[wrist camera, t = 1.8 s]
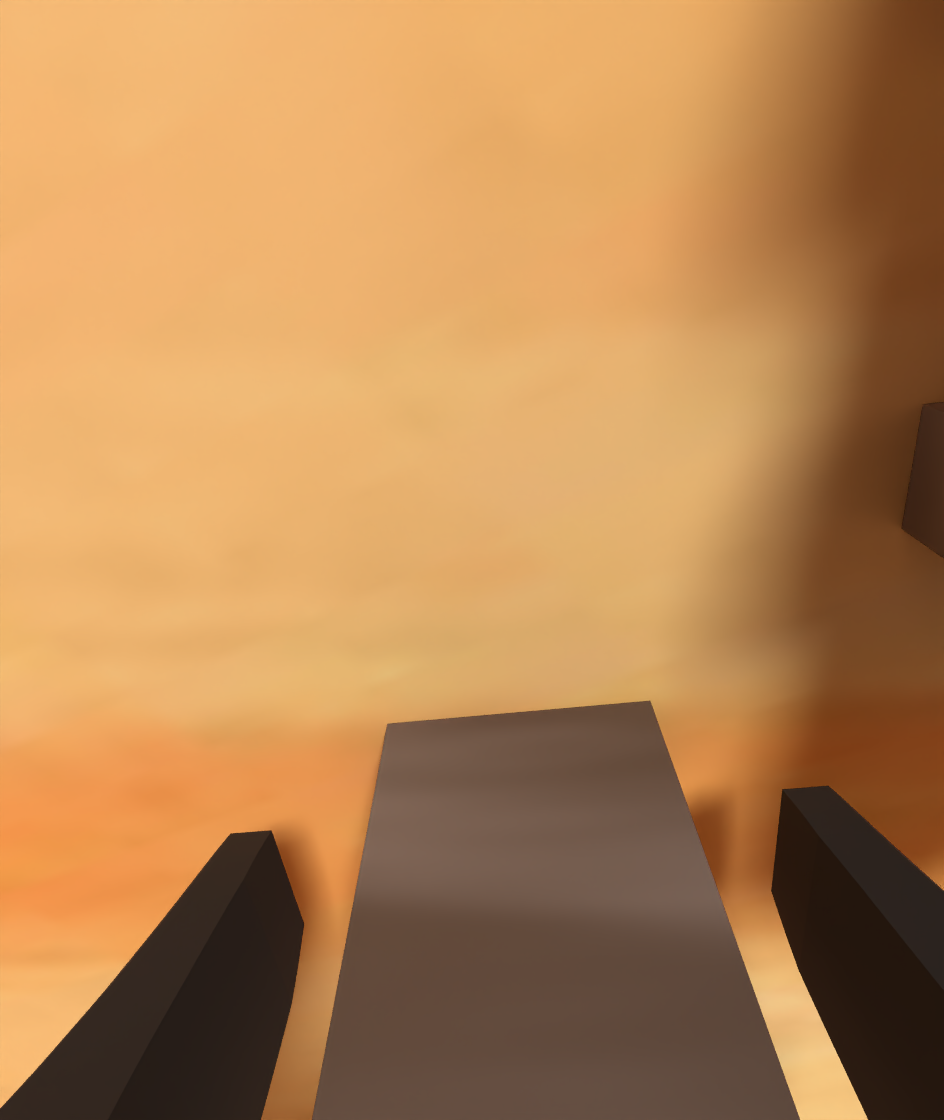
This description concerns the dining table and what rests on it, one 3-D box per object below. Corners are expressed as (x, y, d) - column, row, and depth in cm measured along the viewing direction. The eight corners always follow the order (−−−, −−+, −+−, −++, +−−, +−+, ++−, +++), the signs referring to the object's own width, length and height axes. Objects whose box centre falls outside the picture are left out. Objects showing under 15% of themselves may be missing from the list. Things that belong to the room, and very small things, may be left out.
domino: (650, 782, 12) (871, 1504, 5) (405, 802, 12) (309, 1511, 5) (650, 700, 11) (910, 1428, 4) (387, 723, 11) (250, 1439, 5)
